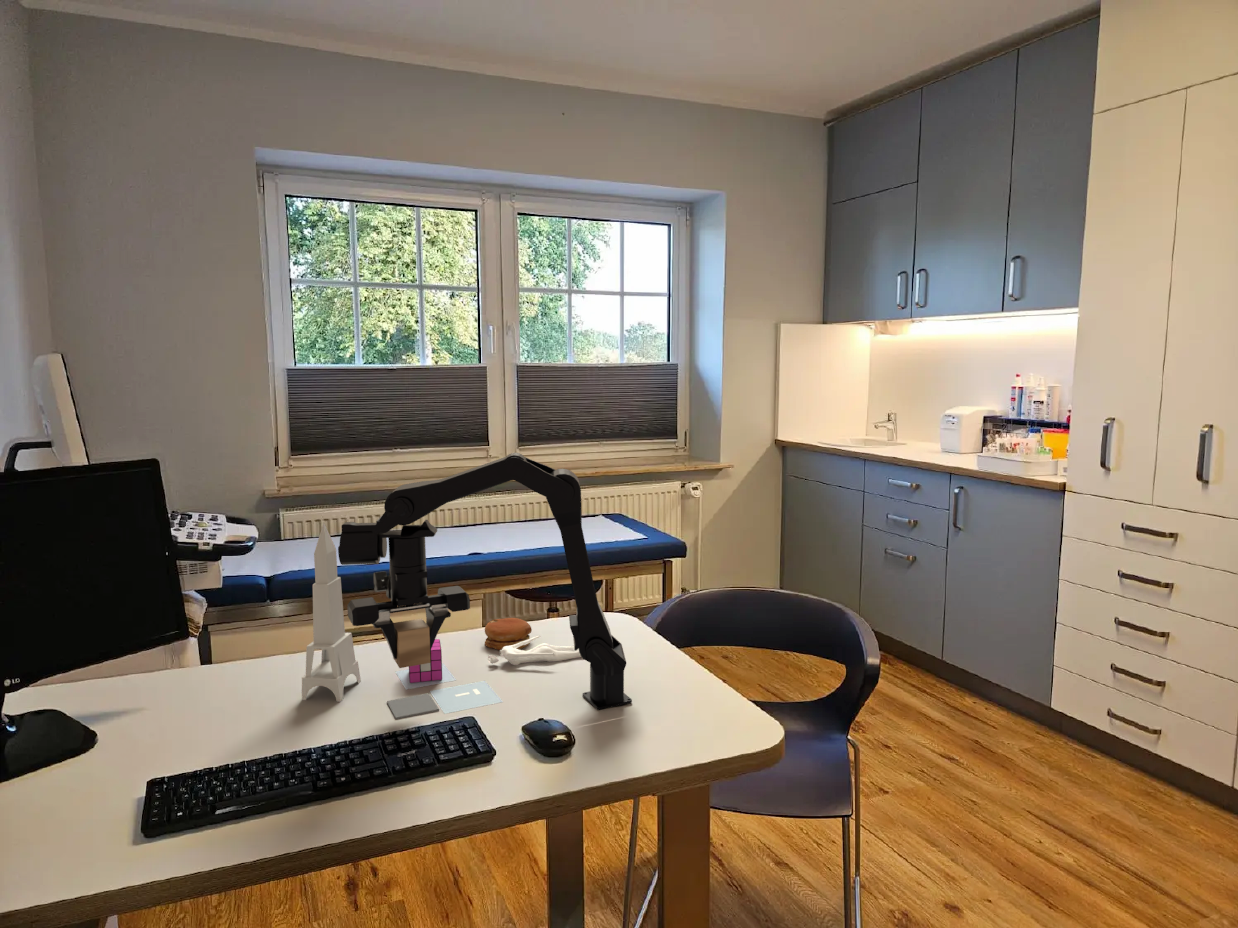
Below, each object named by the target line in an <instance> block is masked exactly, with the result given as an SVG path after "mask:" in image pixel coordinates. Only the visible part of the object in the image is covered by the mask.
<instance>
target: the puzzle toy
mask: <svg viewBox="0 0 1238 928" xmlns="http://www.w3.org/2000/svg"><path fill="white" fill-rule="evenodd" d="M442 652H443V651H442V646H441V640H440V638H438V639H436V638H435V641H434V643H433V646H432V648H431V651H430V661H431V663H427V664H421V665H415V666H410V667H408V669H409V678H410V679H409V681H410V683H416V682H426V681H435V680H442V663H443V660H442V659H443V658H442V657H443V656H442Z"/></svg>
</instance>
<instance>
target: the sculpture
mask: <svg viewBox="0 0 1238 928" xmlns="http://www.w3.org/2000/svg"><path fill="white" fill-rule="evenodd" d="M337 556H338V555H337V548H336V546H335V544H334V541H333V539H332V536H331V535H330V533H329V531H328V527H327V526H326V524H325V522H322V526H321V530H320V533H319V536H318V539H317V543H316V546H315V549H314V552H313V558H314V559H313V560H314V578H315V580H314V581H315V582H314V583H313V584H312V623H313V624H312V628H313V630H312V632H313V640H312V641H311V642H310V643H309V644H307V645H306V653H305V654H306V656H305V674H304V675H303V676H302V677H301V700H302V701H307V696H308V693H309V692H310V691H311V689H313V688H315V687H325V688H327V689H329V690H330V691H331V692H332V693H333V695H334V696H335V700H336V702H338V703H340V702H343V699H344V697H345V696H344V690H345V689H344V687H345V683H346V679H347V678H348V677H349V675H354V677H355V678H356V682H357V684H358V685H359V684H360V683H361V682H362V680H361V679H362V678H361V673H360V667H359V661H358V660H357V659H356V655H355V647H354V640H353V635H352V634H353V633H352V632H346V629H345V618H344V617H345V616H344V604H343V593H342V579H341V576H338V560H337V558H338V557H337ZM315 650H321V661H320V662H319V663H318V664H317V665H315V666H314V667H313V662H314V655H315V654H314V653H315Z"/></svg>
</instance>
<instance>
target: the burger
mask: <svg viewBox="0 0 1238 928" xmlns="http://www.w3.org/2000/svg"><path fill="white" fill-rule="evenodd" d="M532 630H533V629H532V626H531V624H530V623H528V621H526V620H524V619H521V618H517V617H505V618H498V619H497V618H496V619H492V620H491V621H489V622H487V624H486V625H485V627H484V633H485V635H486V638H485V640H484V646H486V648H489V649H495V650H497V651H500V650H502V648H503V647H504V646H510V645H514V644H517V643H520V642H522V641H525V640H528V639H531V637H530V635H529V634H531V633H532ZM529 644H530V643H528V644H526V645H522V646H520V647H518V648H516V649H519V650H521V649H524V648H526V647H527V646H529Z"/></svg>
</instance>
